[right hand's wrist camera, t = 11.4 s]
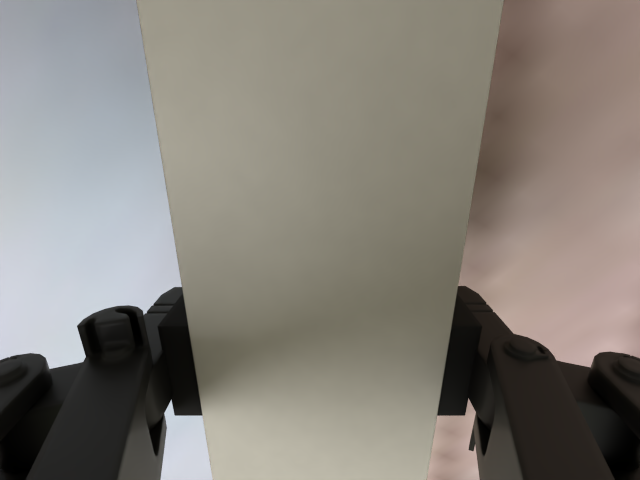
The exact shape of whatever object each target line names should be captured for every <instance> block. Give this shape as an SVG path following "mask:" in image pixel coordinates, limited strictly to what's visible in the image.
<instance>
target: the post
mask: <svg viewBox="0 0 640 480" xmlns="http://www.w3.org/2000/svg"><path fill="white" fill-rule="evenodd" d="M136 1H137V7H138V14H139V20H140V26H141V32H142V39H143V45H144V51H145V57H146V64H147V70H148V76H149V82H150V89H151V95H152V101H153V108H154V114H155V120H156V126H157V133H158V139H159V145H160V151H161V158H162V164H163V170H164V177H165V183H166V189H167V195H168V202H169V208H170V214H171V220H172V227H173V233H174V239H175V245H176V252H177V258H178V264H179V271H180V277H181V283H182V289H183V296H184V302H185V308H186V314H187V321H188V327H189V333H190V340H191V346H192V352H193V358H194V365H195V371H196V377H197V383H198V390H199V396H200V402H201V408H202V415H203V421H204V427H205V434H206V440H207V446H208V452H209V459H210V465H211V471H212V477H213V480H427V475H428V469H429V463H430V457H431V450H432V444H433V438H434V432H435V426H436V419H437V413H438V407H439V401H440V394H441V388H442V382H443V376H444V370H445V363H446V357H447V351H448V345H449V338H450V332H451V326H452V320H453V314H454V307H455V301H456V295H457V289H458V282H459V276H460V270H461V264H462V257H463V251H464V245H465V239H466V233H467V226H468V220H469V214H470V208H471V201H472V195H473V189H474V183H475V177H476V170H477V164H478V158H479V152H480V145H481V139H482V133H483V127H484V121H485V114H486V108H487V102H488V96H489V89H490V83H491V77H492V71H493V64H494V58H495V52H496V46H497V40H498V33H499V27H500V21H501V15H502V8H503V2H504V0H136Z"/></svg>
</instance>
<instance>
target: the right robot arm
mask: <svg viewBox="0 0 640 480" xmlns="http://www.w3.org/2000/svg"><path fill="white" fill-rule="evenodd" d="M77 327H78V331H79V334H80V338H81V341H82V344H83V348H84V351H85V355H86V358H85V360H84V362H82V363H78V364H73V365H68V366H63V367H58V368H53V369H49V366H48V364H47V361H46V358H45V357H43V356H42V355H40V354H32V353H29V354H22V355H15V356H11V357H10V358H9V357H8V358H5V359H2V360H0V480H160V478H161V470H162V462H163V454H164V445H165V437H166V429H167V427H166V420H165V415H164V412H165V410H166V408H167V407H168V405H169V403H170V401H171V399H172V404H173V409H174V414H175V415H202V408H201V402H200V396H199V390H198V383H197V377H196V371H195V365H194V358H193V352H192V346H191V340H190V333H189V327H188V321H187V314H186V308H185V302H184V296H183V289H182V287H174V288H172V289H171V290H169V291H167V292H166V293H164V294H162V295H161V296H160V297H159V298H158V300H157V301H156V302H155V303H154V306H151V308H150V309H149V310H148V311H147V313H145V314H144V315H143V311H142V310H141V309H140V308H138V307H134V306H116V307H111V308H107V309H104V310H101V311H99V312H96V313H93V314H92V315H90V316H88V317H87V318H85V319H83V320H82V321H81V323H80V324H79V325H78V326H77ZM468 398H469V400H470V402H471V403H472V405H473V407H474V409H475V411H476V415H475V420H474V425H473V430H472V434H471V439H470V445H469V450H471V451H474V446H475V445H476V453H477V461H478V469H479V477H480V480H640V358H637V357H634V356H630V355H628V354H623V353H615V352H602V353H599V354H597V355H596V356H595V357H594V360H593V362H592V365H591V368H590V367H585V366H580V365H575V364H570V363H565V362H560V361H557V360H556V359H555V357H554V356H553V354H552V353H551V352H550V351H549V349H547V348H546V347H545V346H543V345H542V344H540V343H539V342H537V341H534V340H532V339H530V338H528V337H524V336H520V335H516V334H513V333H512V331H511V330H510V329H509V328H508V327H507V326H506V325H505V323H504V322H503V321H502V320H501V319H500V318H499V317H498V316H497V314H496V313H495V312H493V310H492V309H491V308H490V306H489V305H486V302H485V301H484V300H483V299H482V297H481V296H480V295H479V294H478V293H476V292H474V291H473V290H471V289H469V288H468V287H466V286H458V289H457V295H456V301H455V307H454V314H453V320H452V326H451V332H450V338H449V345H448V351H447V357H446V363H445V370H444V376H443V382H442V388H441V394H440V401H439V407H438V413H437V415H465V413H466V407H467V402H468Z"/></svg>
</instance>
